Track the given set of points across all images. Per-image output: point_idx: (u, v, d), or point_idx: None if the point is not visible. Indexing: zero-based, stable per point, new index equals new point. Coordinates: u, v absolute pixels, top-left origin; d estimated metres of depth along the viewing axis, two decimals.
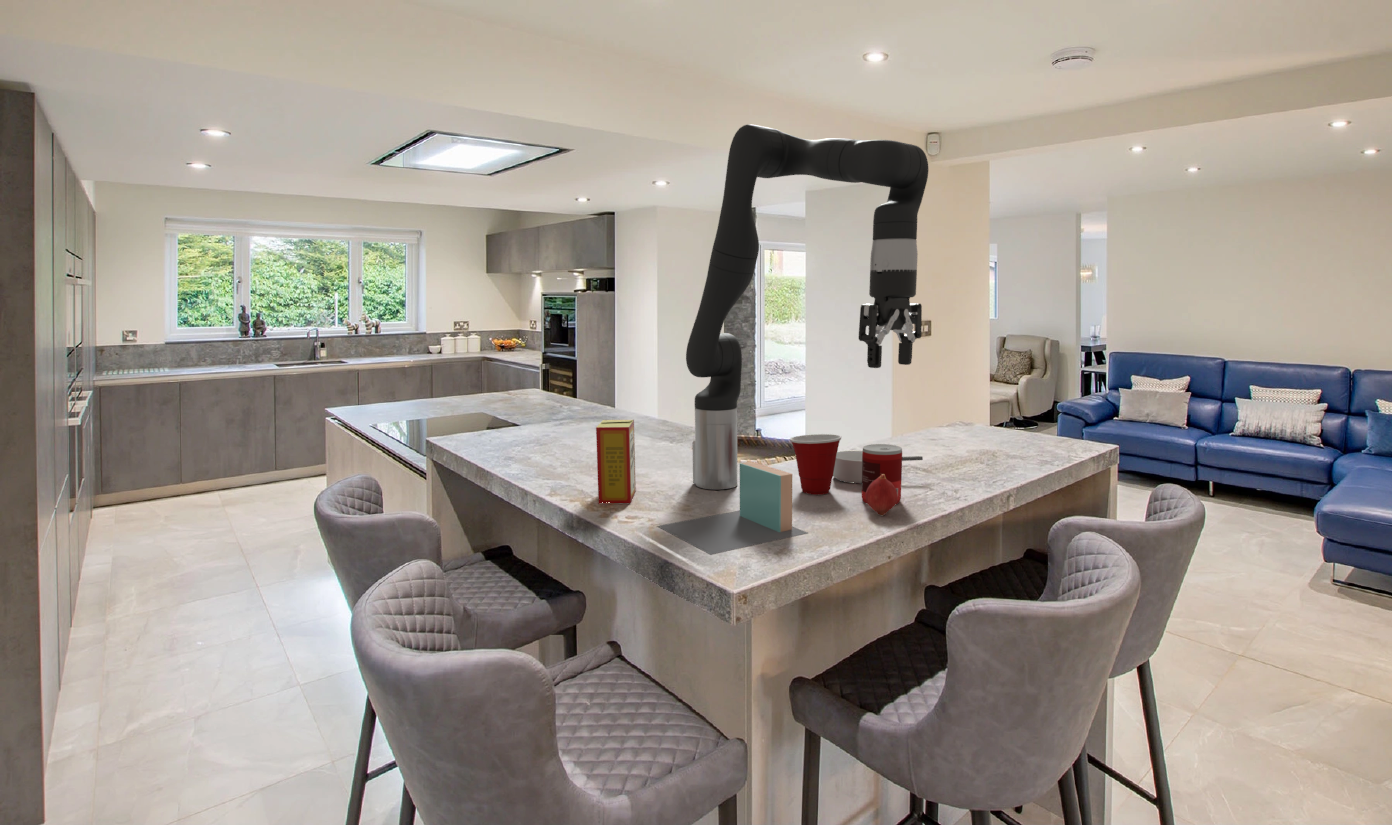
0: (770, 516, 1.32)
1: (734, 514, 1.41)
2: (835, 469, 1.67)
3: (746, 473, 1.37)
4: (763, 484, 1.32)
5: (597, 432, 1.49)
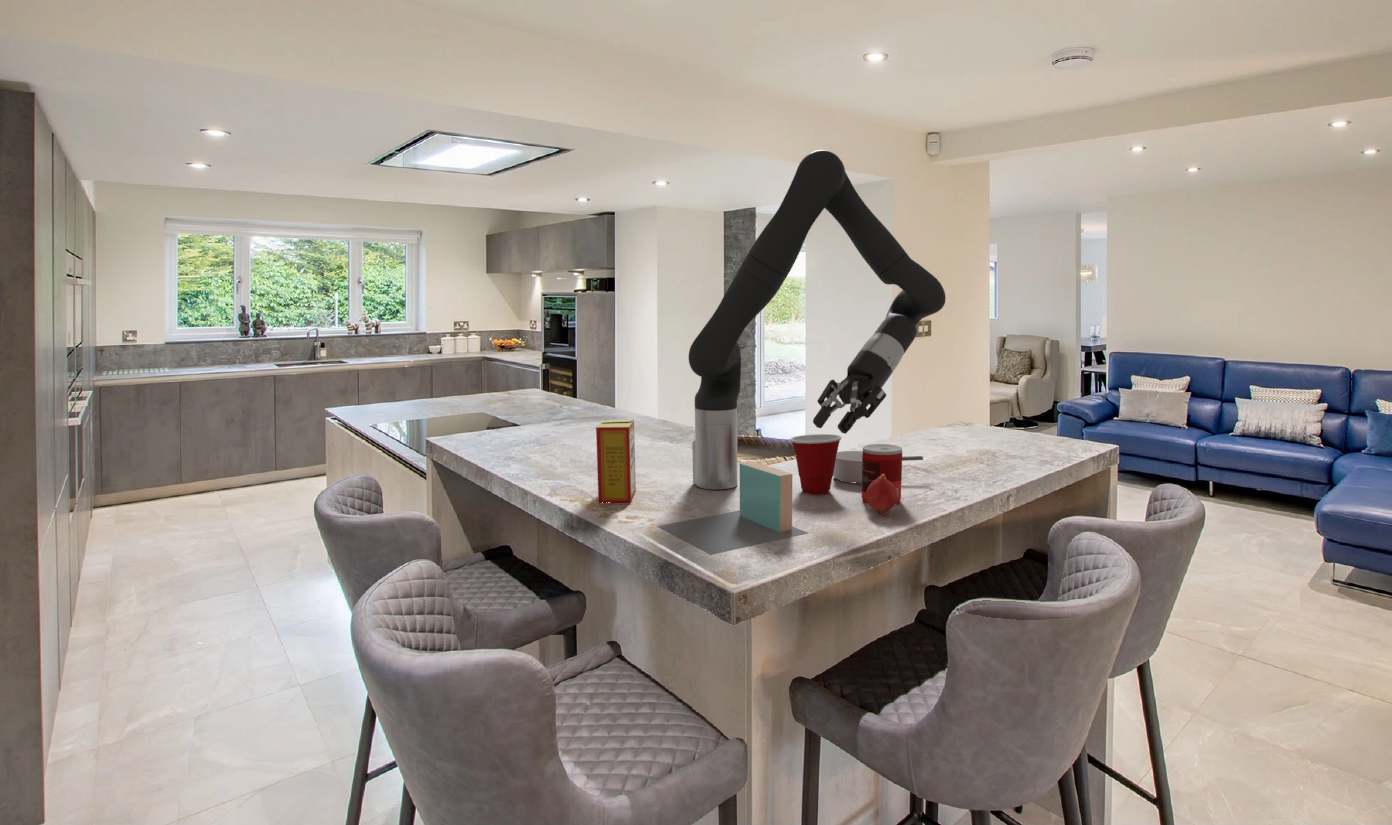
0: (770, 516, 1.32)
1: (734, 514, 1.41)
2: (835, 469, 1.67)
3: (746, 473, 1.37)
4: (763, 484, 1.32)
5: (597, 432, 1.49)
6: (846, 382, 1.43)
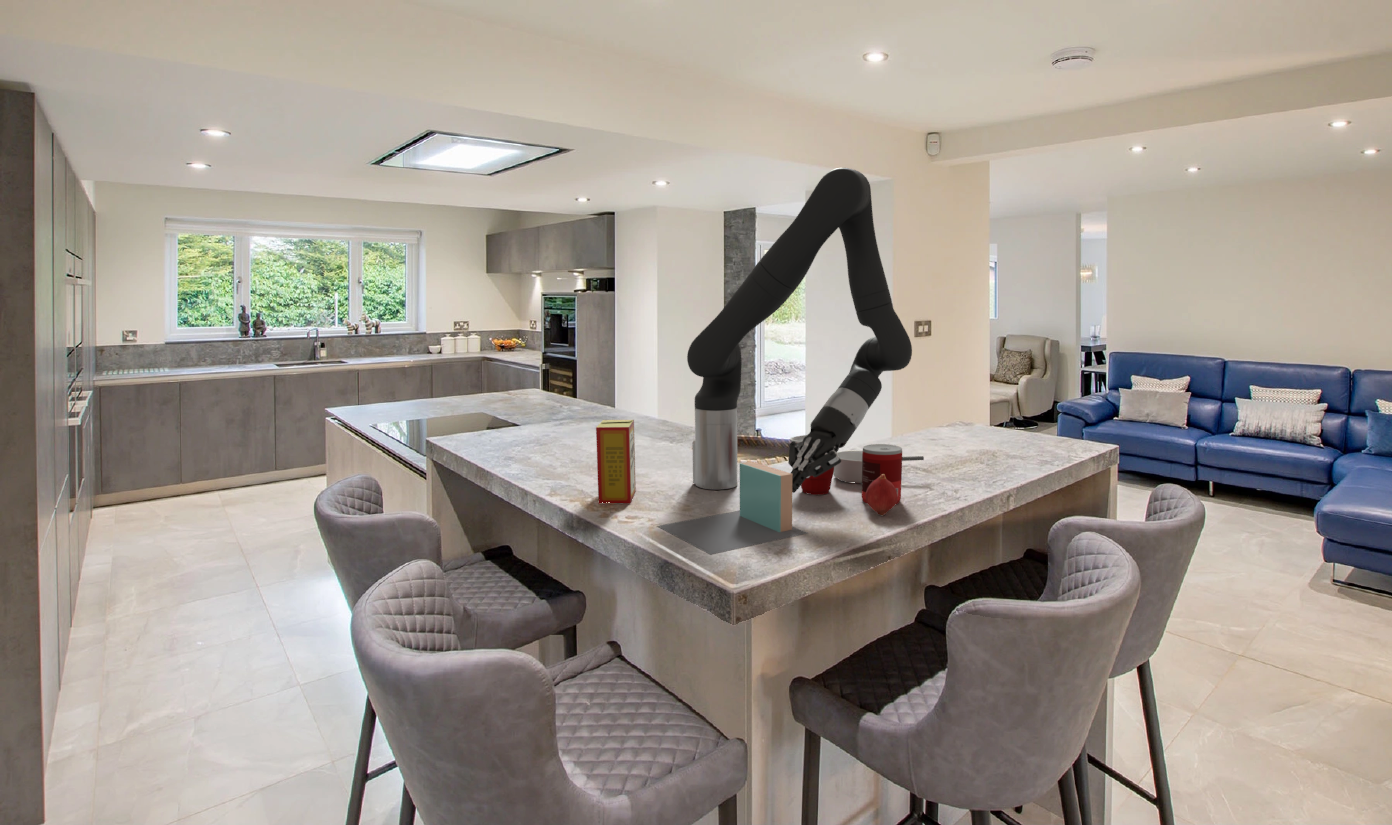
0: (770, 516, 1.32)
1: (734, 514, 1.41)
2: (836, 469, 1.67)
3: (746, 473, 1.37)
4: (763, 484, 1.32)
5: (597, 432, 1.49)
6: (809, 439, 1.40)
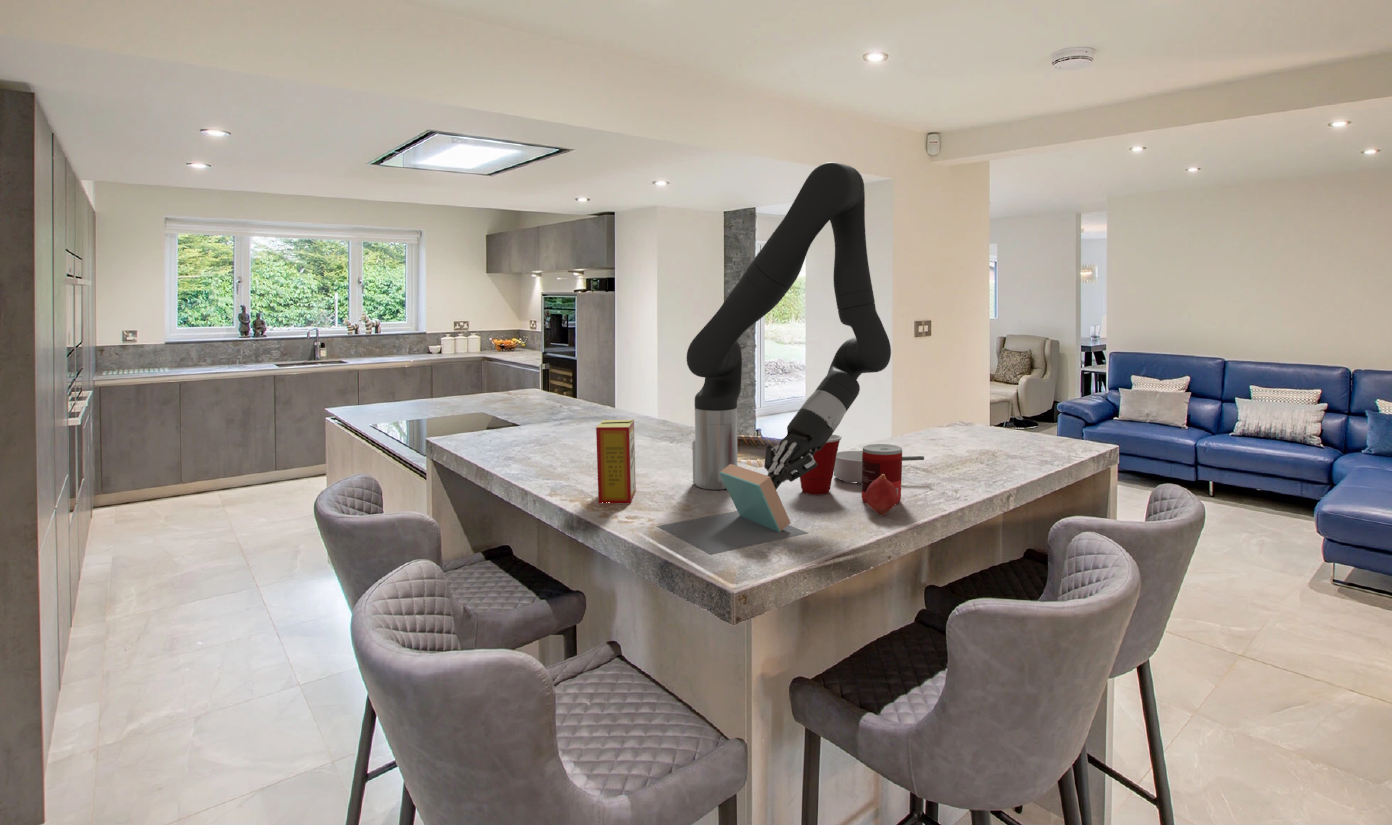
0: (765, 518, 1.31)
1: (734, 514, 1.41)
2: (837, 469, 1.67)
3: (728, 481, 1.35)
4: (747, 491, 1.31)
5: (597, 432, 1.49)
6: (785, 442, 1.37)
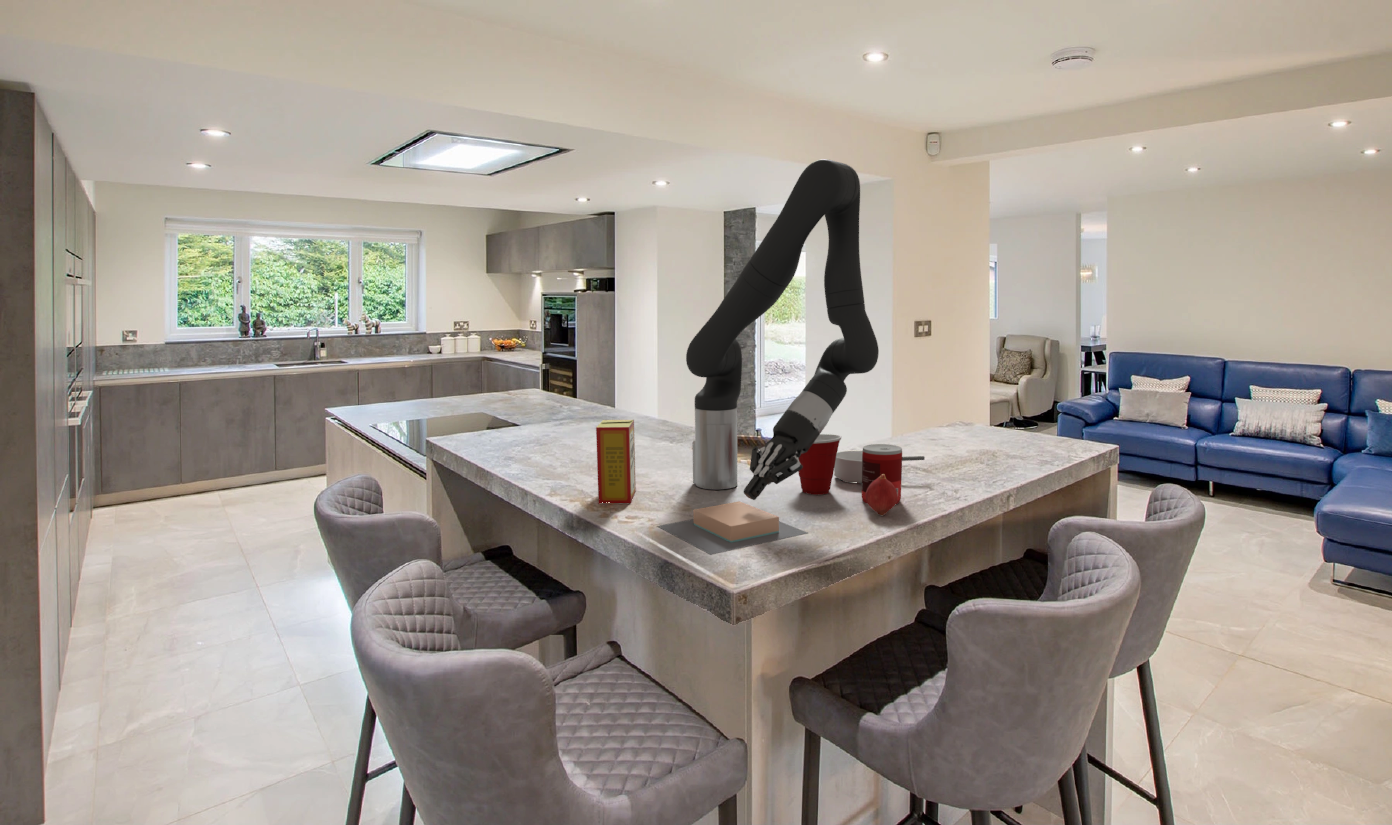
0: None
1: None
2: (837, 469, 1.67)
3: None
4: None
5: (597, 432, 1.49)
6: (770, 444, 1.35)
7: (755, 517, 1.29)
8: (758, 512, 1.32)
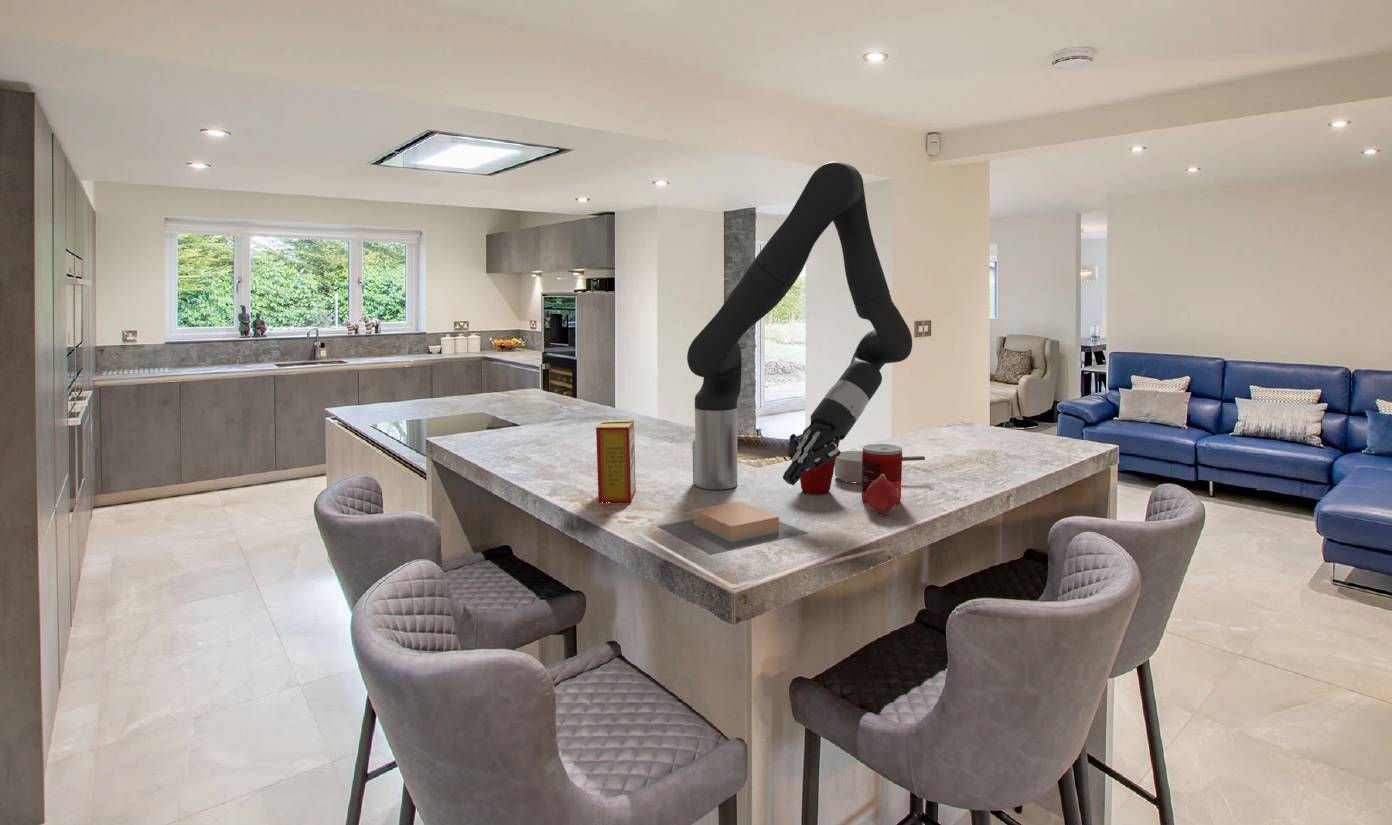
0: None
1: None
2: (837, 469, 1.67)
3: None
4: None
5: (597, 432, 1.49)
6: (808, 431, 1.40)
7: (755, 517, 1.29)
8: (758, 512, 1.32)
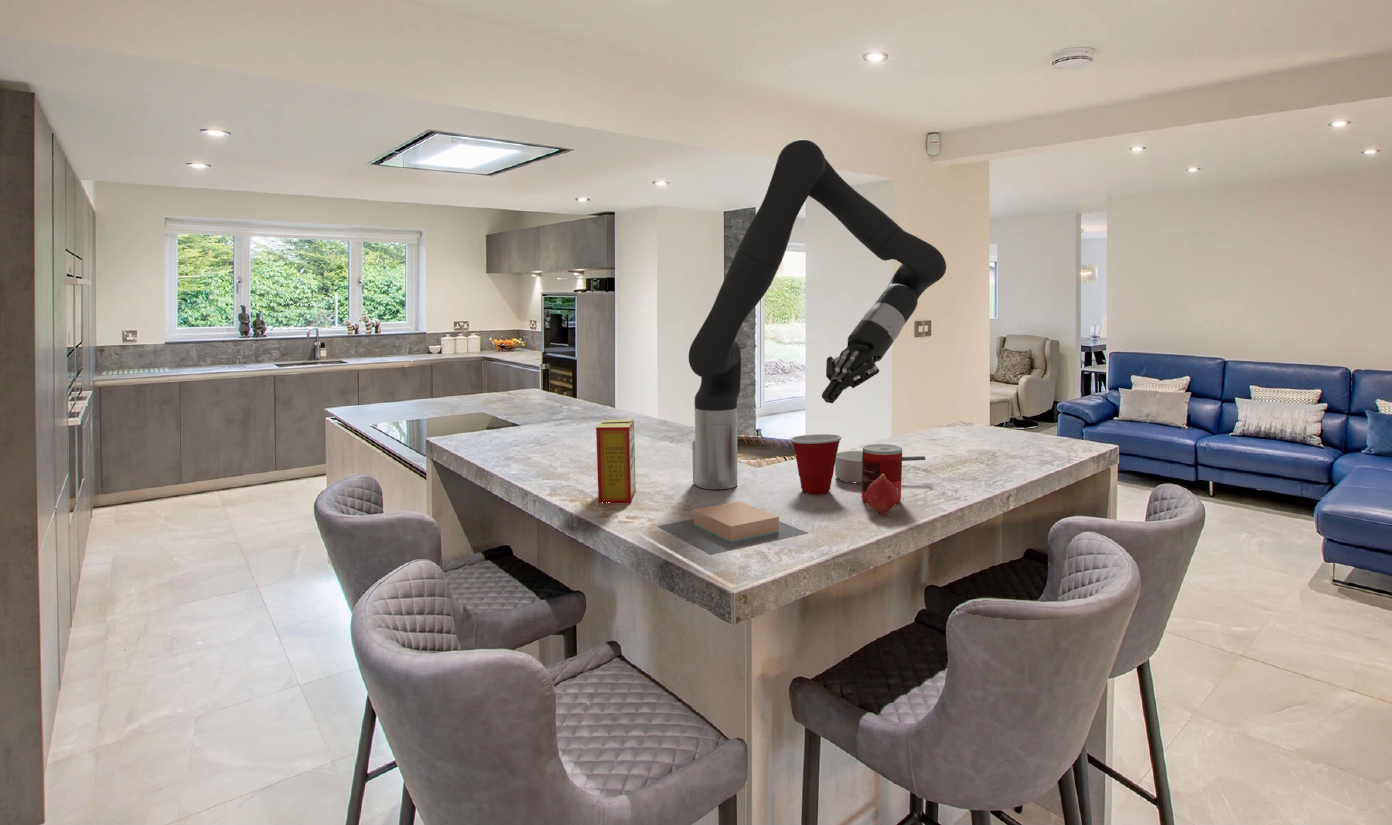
0: None
1: None
2: (838, 469, 1.67)
3: None
4: None
5: (597, 432, 1.49)
6: (846, 352, 1.42)
7: (755, 517, 1.29)
8: (758, 512, 1.32)
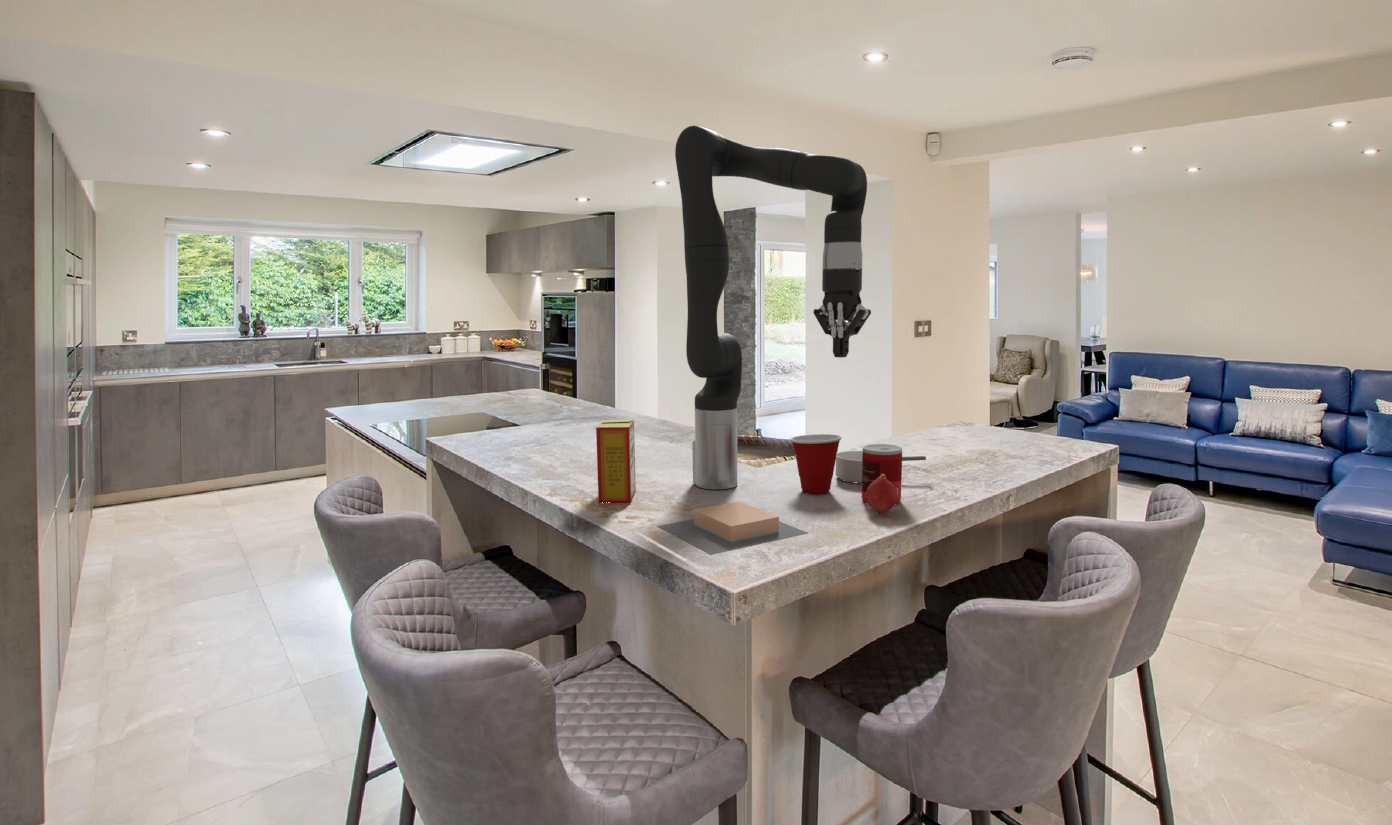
0: None
1: None
2: (838, 469, 1.67)
3: None
4: None
5: (597, 432, 1.49)
6: (830, 305, 1.45)
7: (755, 517, 1.29)
8: (758, 512, 1.32)
